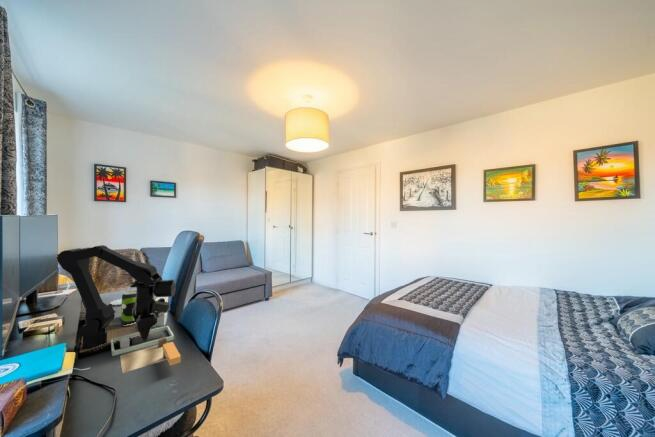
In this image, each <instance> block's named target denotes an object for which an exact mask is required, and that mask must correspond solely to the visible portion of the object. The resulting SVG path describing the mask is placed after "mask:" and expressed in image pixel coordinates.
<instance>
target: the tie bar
mask: <svg viewBox="0 0 655 437" xmlns="http://www.w3.org/2000/svg"><path fill="white" fill-rule="evenodd" d="M170 342H171V343H169V342H166V343H167V344H163V352H164V354H165V356H166V358H167V360H166V361H167V362H168V365H169V366H173V365H176V364H180V363H181V361H182V360H181V359H182V357H181V356H182V355H181V354H180V352H179V351H178V348H177V347H176V345H175V343H174V342H173V341H170Z"/></svg>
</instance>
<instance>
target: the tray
mask: <svg viewBox="0 0 655 437" xmlns="http://www.w3.org/2000/svg"><path fill="white" fill-rule="evenodd" d="M163 331H167V333H168V335H169V336H166V337H164V338H166V343H168V342H172V341H174V340H175V334H174V333H173V331H172V330H171V328H170V326H169V325H164V326H159V327H155V328H153V329H152V328H151V329H150V332H149V335H150V334H154V333H158V332H163ZM136 335H140V333H139V331H138V332H134V333H131V334H126V335H122V336H121V335H120V336H118V337H112V338H110V349H111V357H114V356H118V355H123V354H127V353H131V352H134V351H138V350H142V349H146V348H149V347H153V346H157V345H158V339H154V340H150V341H146V342H142V343H138V344H134V345H131V346H130V345H129V347H125V348H120V349H119V348H118V349H115V346H114V344H115V343H117V342H116V341H119V342H120V339H121V338H125V337H132V336H136ZM162 338H163V337H161V338H160V339H162ZM113 342H114V343H113Z"/></svg>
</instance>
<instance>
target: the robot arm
mask: <svg viewBox="0 0 655 437" xmlns="http://www.w3.org/2000/svg"><path fill="white" fill-rule="evenodd" d="M94 257H95V258H98V259H101V260H102V261H104V262H107V263H109V264H110V265H112V266H115V267H117V268H119V269H121V270H123V271H125V272H126V273H128V275H129V276H130V277H131V278H133V280H135V281H134V282H133V283H132V284H131V285H129V287H130V288H136V290H135V291H136V300H135V303H136V306H135V307H134V308H133V309H132V314H133V317H134V320H135V322H136V324H135V326H136V329H137V331H138V332H139V333H140V335H141V336H140V337H142V339H143V341H145V340H147V338H148V335H150V334H149V332H150V330H152V328H153V325H155V324H157V317H156V315H154V314H151V313H155V311H158V312H164V313H167V314H168V312H167V311H169V309H170V306H171V304H170V303H169V302H168V303H167V302H165V299H164V298H160V299H159V300H158V301H155V300H154V296H156V297H168V298H170V297H171V298H172V297H175V294H176V290H177V285H176V283H175V279H163V278H162V276H160V274H159V273H158V270H157V267H156V266H154V265H153V264H150V263H149V264H148V263H145V262H139V261H135V260H133V259H131V258H130V257H127V256H125V255H123V254H122V253H120V252H117V251H115V250H113V249H111V248H109V247H108V246H107V245H104V244H102V245H95V246H93V247H89V248H85V249H84V248H80V247H78V248H71V249H67V250H63V251H61V252H59V254H58V255H57V256H56V261H57V263H58V264H59V266H60V267H61V268H62V270H64V271H66V273H68V274H70V276H71V277H72V280H73V282H74V285H75V286H76V289H77V291H78V293H79V295H80V298H81V300H82V302H83V305H84V307H85V314H84V320H85V325H84V326H82V327H81V328H80V329H79V330H78V331H77V335H78V337H81V338H82V343H81V344H82V345H81V350H82V349H83V350H88V349H94V348H93V347H95V348H97V346H98V347H100V346H102V345H101V344H104V343H107V344H108V331H106V328H107V327H108V326H109V325H110V323H111V322H113V320H114V318H115V314H116V311H115V309H114V307H113V304H112V303H109V304H106V303H105V302H103V300H102V298H101V295H100V292H99V291H98V288H97V286H96V283H95V281H94V279H93V277H92V275H91V272H90V270H89V269H90V268H89V266H90V258H94ZM99 345H100V346H99ZM104 345H105V344H104Z"/></svg>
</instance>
